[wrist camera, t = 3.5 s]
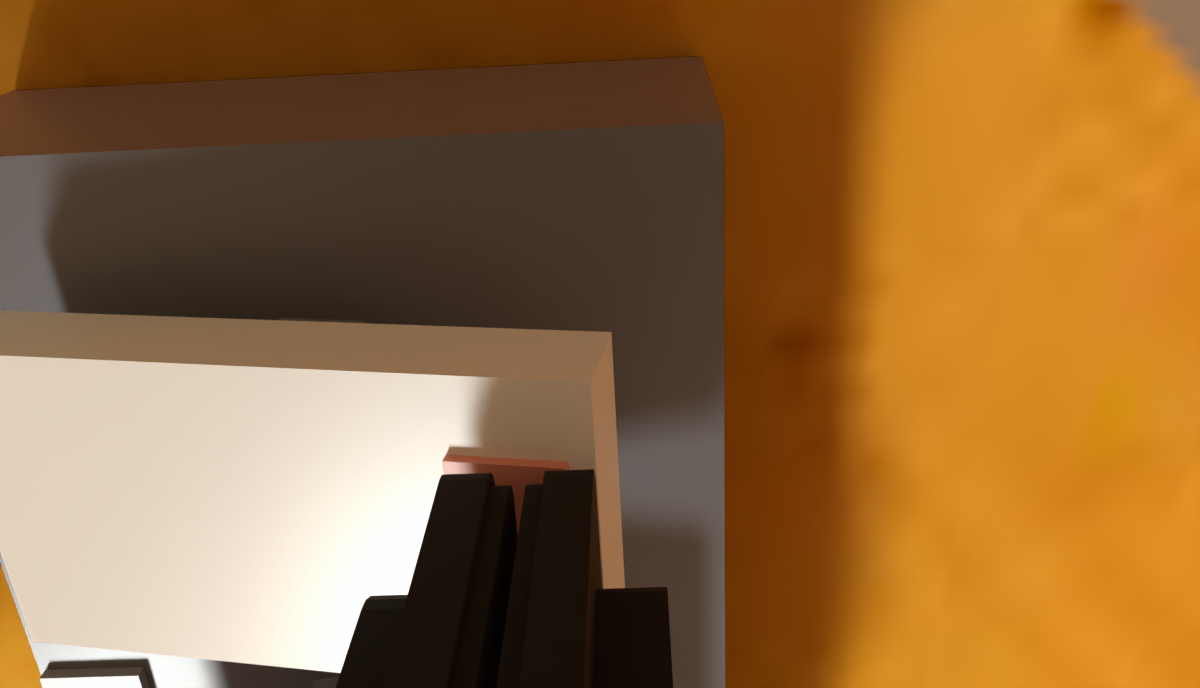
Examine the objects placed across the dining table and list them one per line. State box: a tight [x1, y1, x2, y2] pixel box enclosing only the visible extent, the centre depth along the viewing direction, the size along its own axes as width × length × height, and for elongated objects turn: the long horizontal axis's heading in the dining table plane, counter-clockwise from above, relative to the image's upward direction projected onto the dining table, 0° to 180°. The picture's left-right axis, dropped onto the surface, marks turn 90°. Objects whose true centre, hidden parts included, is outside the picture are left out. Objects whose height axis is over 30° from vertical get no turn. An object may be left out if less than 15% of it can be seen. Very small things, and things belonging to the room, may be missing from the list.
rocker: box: [0, 310, 625, 673], centre depth 14 cm, size 4×8×2 cm, turn 93°
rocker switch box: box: [0, 56, 725, 688], centre depth 20 cm, size 20×11×4 cm, turn 3°
